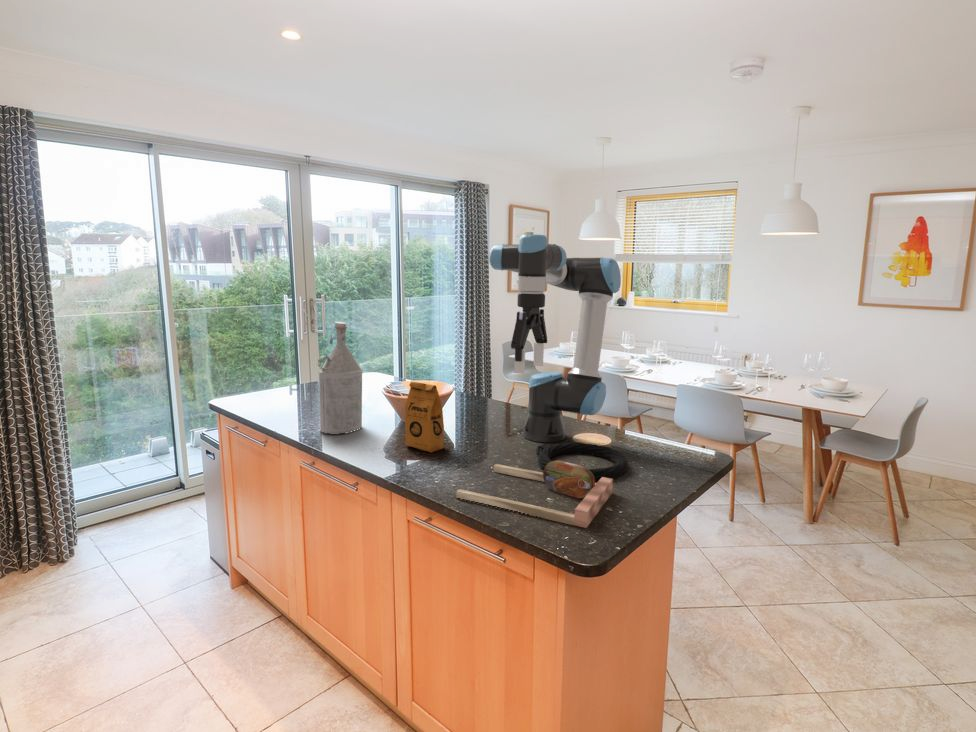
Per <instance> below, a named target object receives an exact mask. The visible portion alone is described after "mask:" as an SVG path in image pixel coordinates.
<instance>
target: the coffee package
mask: <svg viewBox="0 0 976 732" xmlns="http://www.w3.org/2000/svg"><path fill="white" fill-rule="evenodd" d="M409 387H410V388H409V391H408V394H407V398H406V401H405V405H404V423H405V427H404V429H405V446H408V447H412V448H414V449H417V450H420V451H424V452H429V453H433V452H436V451H439V450H440V451H441V450H442V449H444V432H445V431H444V430H445V425H444V424H445V423H444V414H443V413H444V412H443V405H442V403H441V398H440V395H439V391H438V388H437V385H435V384H429V383H423V382H416V381H412V380H411V381H410V383H409Z"/></svg>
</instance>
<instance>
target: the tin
mask: <svg viewBox="0 0 976 732" xmlns="http://www.w3.org/2000/svg"><path fill="white" fill-rule="evenodd" d="M551 461H552V460H551ZM589 469H590V468H587V467H586V466H583V465H579V464H576V463H572V462H568V461H564V460H559V459H558V460H553V461H552V462H549V463H548V464H547V465H546V466H545V468H544V469H542V470H543V472H542V473H543V478H544V481H545V482H544V484H545V486H546V487H547V488H548V489H549V490H551V491H552V492H554V493H555V492H556V493H558V494H563V495H566V496H569V497H572V498H575V499H584V498H585V497H586V495H587V494H588V493H589V492H590V491H591V489H592V488H593V487H594V486H595V483H596V481H595V478H594V475H593V474H592V472H591V471H590V470H589Z"/></svg>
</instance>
